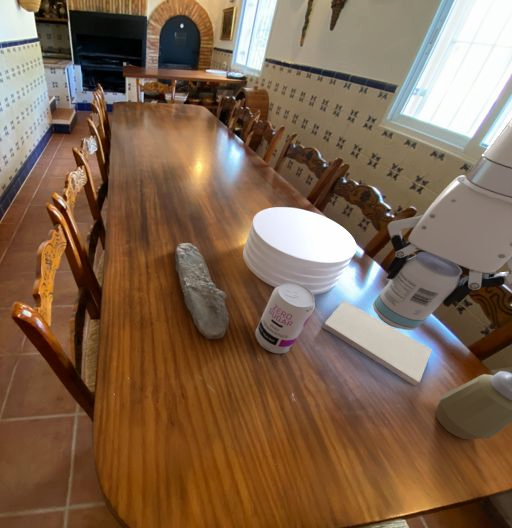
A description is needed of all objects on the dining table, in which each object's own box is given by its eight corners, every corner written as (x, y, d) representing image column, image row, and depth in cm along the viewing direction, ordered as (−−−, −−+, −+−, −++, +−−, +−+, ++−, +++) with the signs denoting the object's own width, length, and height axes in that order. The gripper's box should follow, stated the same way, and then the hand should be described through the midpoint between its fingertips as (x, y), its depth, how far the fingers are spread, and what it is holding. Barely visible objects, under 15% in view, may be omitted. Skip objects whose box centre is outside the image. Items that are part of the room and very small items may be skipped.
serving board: (428, 353, 68) (432, 349, 67) (415, 386, 62) (419, 382, 61) (340, 303, 79) (343, 299, 78) (321, 326, 72) (324, 322, 71)
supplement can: (290, 331, 70) (315, 285, 61) (291, 360, 64) (319, 314, 55) (255, 321, 72) (275, 275, 62) (253, 348, 66) (274, 302, 56)
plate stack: (320, 241, 102) (335, 212, 94) (352, 300, 80) (375, 268, 73) (238, 232, 102) (247, 202, 95) (249, 288, 81) (261, 255, 74)
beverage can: (423, 324, 50) (476, 270, 42) (402, 340, 47) (455, 285, 39) (383, 297, 54) (424, 244, 47) (361, 310, 51) (401, 256, 44)
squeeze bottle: (439, 439, 54) (524, 389, 42) (420, 396, 60) (490, 343, 48) (489, 452, 52) (590, 405, 41) (465, 407, 59) (547, 356, 47)
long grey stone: (198, 251, 94) (167, 254, 93) (200, 237, 91) (168, 240, 90) (238, 339, 67) (195, 344, 65) (242, 323, 64) (197, 328, 62)
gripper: (616, 198, 33) (490, 308, 44) (430, 152, 42) (366, 252, 53) (628, 220, 28) (485, 335, 40) (419, 163, 37) (351, 269, 49)
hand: (418, 287), depth 46 cm, fingers closed on beverage can, 7 cm apart
